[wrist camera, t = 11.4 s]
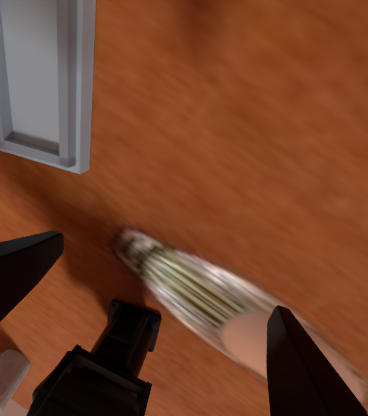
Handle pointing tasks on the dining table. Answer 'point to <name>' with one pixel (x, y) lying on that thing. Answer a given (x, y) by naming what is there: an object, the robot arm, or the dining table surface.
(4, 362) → the house plant
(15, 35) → the two-compartment grey tray
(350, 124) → the dining table surface
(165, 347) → the dining table surface
